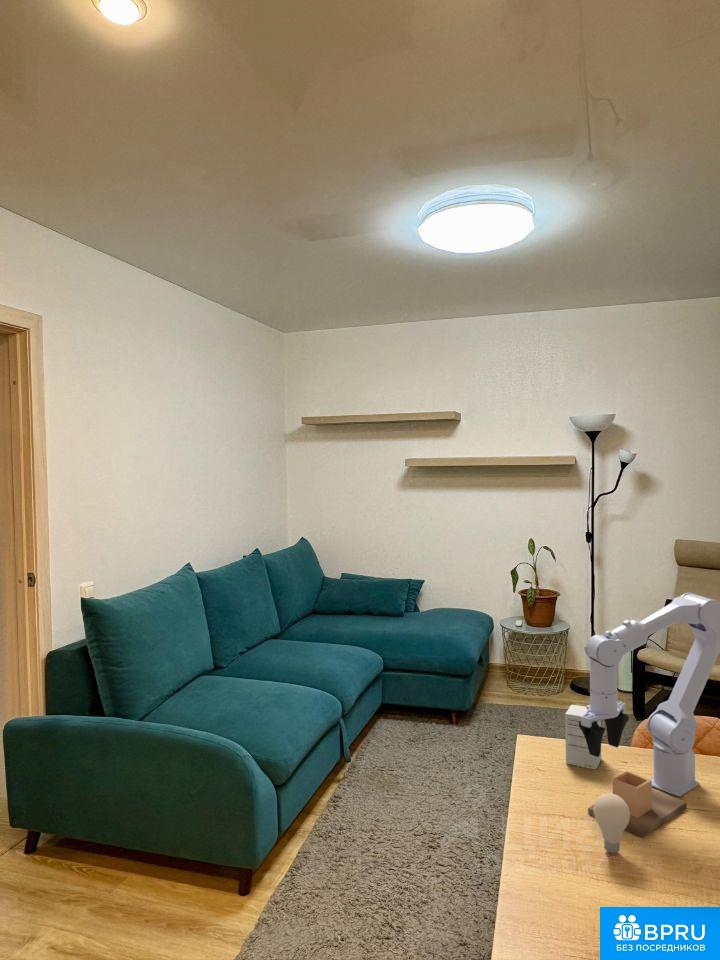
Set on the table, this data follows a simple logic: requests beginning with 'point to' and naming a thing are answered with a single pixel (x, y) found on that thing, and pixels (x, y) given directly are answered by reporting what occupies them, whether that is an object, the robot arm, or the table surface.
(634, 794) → the duct sleeve
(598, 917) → the table surface
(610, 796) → the light bulb
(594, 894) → the table surface
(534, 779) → the table surface
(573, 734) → the supplement box
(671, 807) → the duct board
